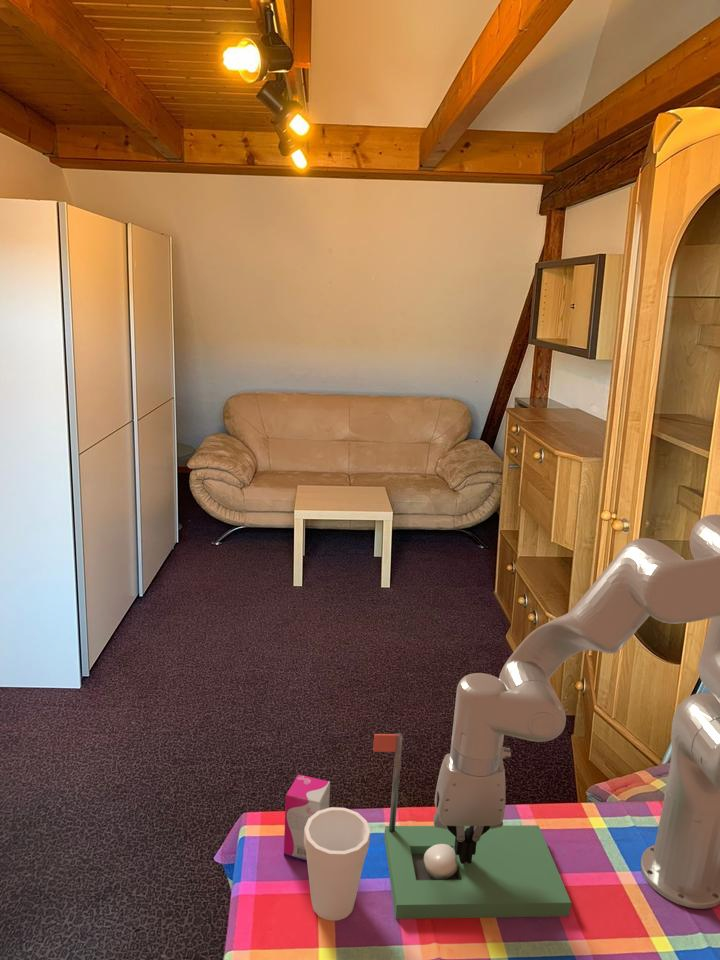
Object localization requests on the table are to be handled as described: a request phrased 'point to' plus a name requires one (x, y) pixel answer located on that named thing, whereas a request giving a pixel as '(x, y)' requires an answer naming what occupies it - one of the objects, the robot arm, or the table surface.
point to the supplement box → (302, 812)
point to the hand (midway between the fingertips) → (464, 856)
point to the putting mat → (470, 868)
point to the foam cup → (335, 859)
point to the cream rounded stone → (440, 861)
